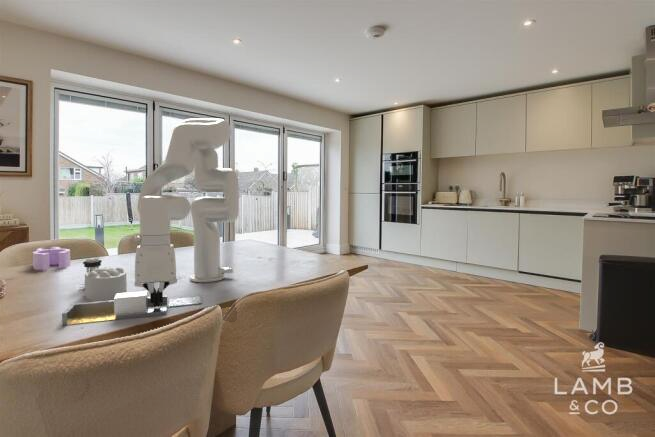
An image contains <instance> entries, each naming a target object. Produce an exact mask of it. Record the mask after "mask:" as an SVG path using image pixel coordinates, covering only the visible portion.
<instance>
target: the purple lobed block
mask: <svg viewBox="0 0 655 437" xmlns="http://www.w3.org/2000/svg"><path fill="white" fill-rule="evenodd" d="M32 263H33V264H32V265H33V266H32V267H33V270H35V271H36V270H37V271H43V272H46V271H49V270H50V266H52V265H58V268H59V269H67V268H68V267H70V266H71V249H69V248H61V247H60V246H51V247H50V249H48V248H47V249H45V247H39V248H36V250H35V251H33V252H32Z"/></svg>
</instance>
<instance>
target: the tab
mask: <svg viewBox="0 0 655 437" xmlns="http://www.w3.org/2000/svg"><path fill="white" fill-rule="evenodd" d="M194 305H202V297H201V295H198V296H190V297H180V298H169V303H168V307H169V308H175V307H176V308H177V307H184V306H185V307H186V306H194Z"/></svg>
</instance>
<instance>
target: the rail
mask: <svg viewBox="0 0 655 437" xmlns="http://www.w3.org/2000/svg"><path fill="white" fill-rule="evenodd" d="M167 311H168V295H163V302H160V306H157V305H156V306H155V307H153V303H151V297H150V296H148V308H147V311H146V312H138V313H129V314H119V315H114V300H111V301H89V302H81V303H80V302H78V303H71V304H69V306H68V307H67V308H66V309H65V310H64V311H63V312H62V313H61V320H62V321H61V324H62V325H61V326H71V325H81V324H89V323H99V322H107V321H110V322H111V321H117V320H126V319H137V318H145V317H157V316H163V315H167Z"/></svg>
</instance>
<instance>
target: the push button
mask: <svg viewBox="0 0 655 437" xmlns="http://www.w3.org/2000/svg"><path fill="white" fill-rule="evenodd" d="M102 262H103V261H102V260H101V259H99V257H89V258H85V260H84V261H82V264H83V265H84V268H86V273H88V272H91V271H92V270H94V269H97V268H100V266H101V263H102ZM83 288H84V289H85V283H82V284H80V286H79V289H83Z"/></svg>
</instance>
